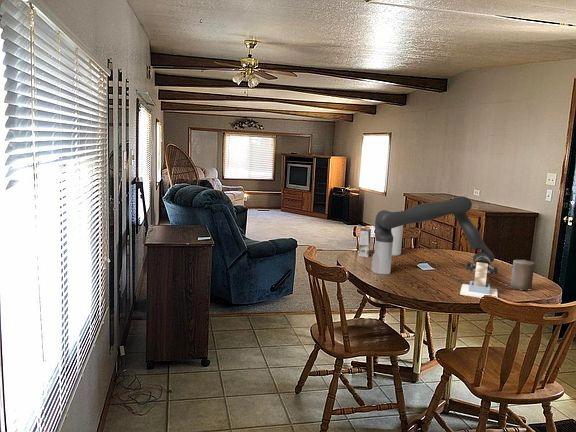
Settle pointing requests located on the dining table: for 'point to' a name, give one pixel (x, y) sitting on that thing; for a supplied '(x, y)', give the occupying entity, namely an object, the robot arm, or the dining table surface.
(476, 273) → the birch post
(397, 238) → the cylinder vase
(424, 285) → the dining table surface
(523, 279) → the pillar candle
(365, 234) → the coffee box
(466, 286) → the sleeve holder
